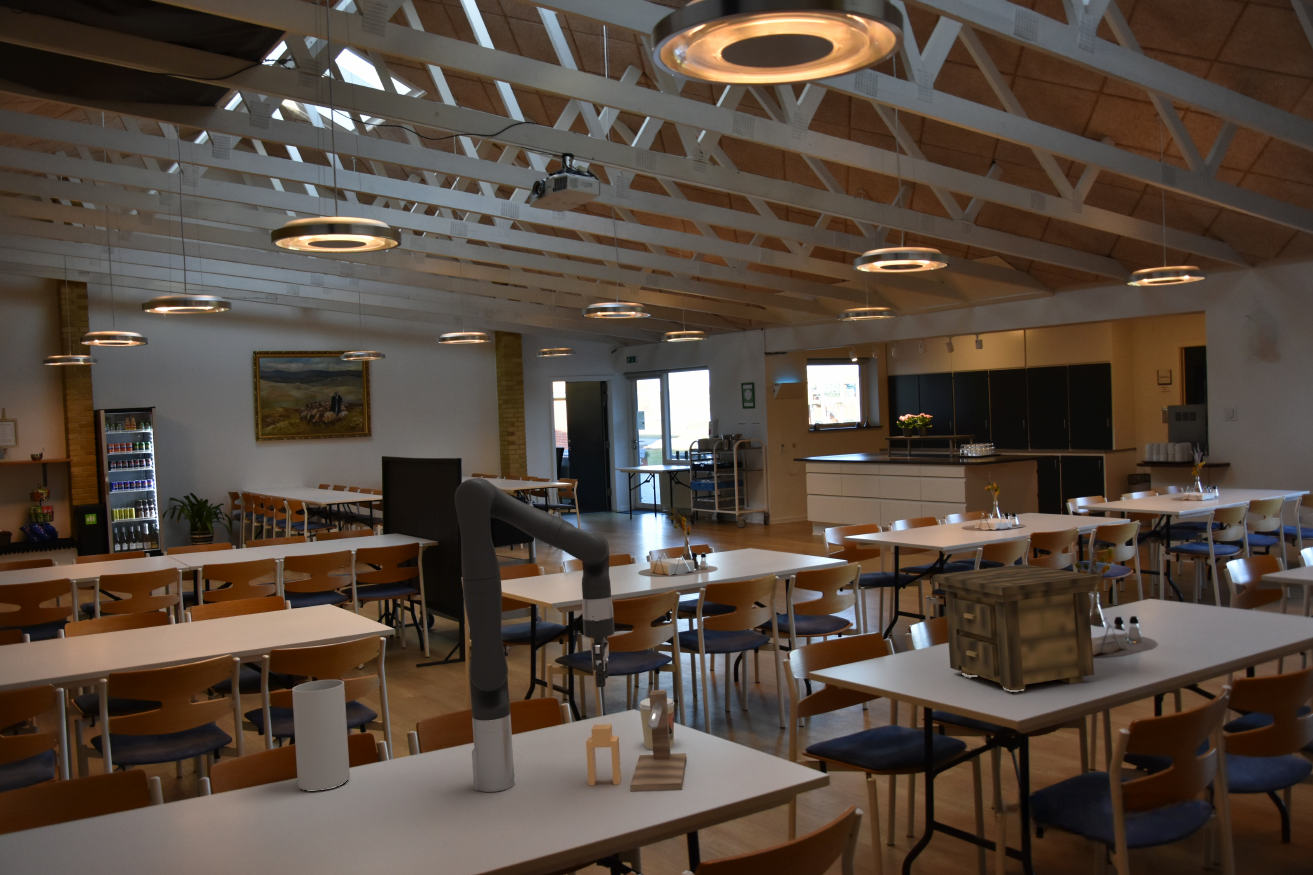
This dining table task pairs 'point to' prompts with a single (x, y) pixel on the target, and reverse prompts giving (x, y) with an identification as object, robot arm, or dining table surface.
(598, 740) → the forked wooden block
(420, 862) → the dining table surface
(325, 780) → the cylinder vase
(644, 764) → the hook rack
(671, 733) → the coffee cup
